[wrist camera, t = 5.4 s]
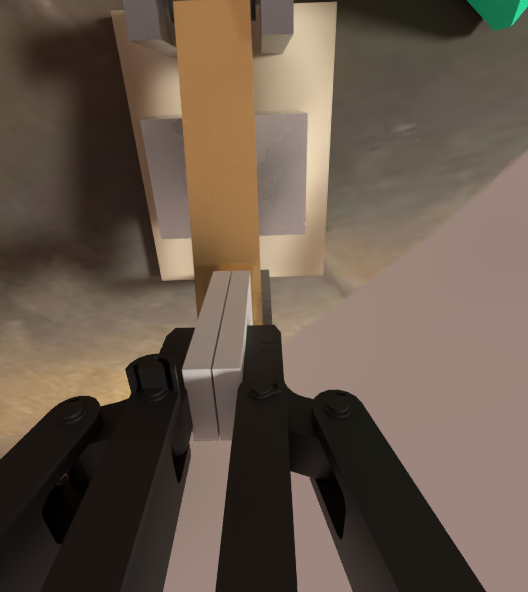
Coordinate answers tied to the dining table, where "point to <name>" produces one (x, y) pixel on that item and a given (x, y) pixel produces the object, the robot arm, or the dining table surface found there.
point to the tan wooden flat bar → (219, 138)
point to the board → (267, 97)
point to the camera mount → (499, 11)
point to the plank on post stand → (268, 129)
